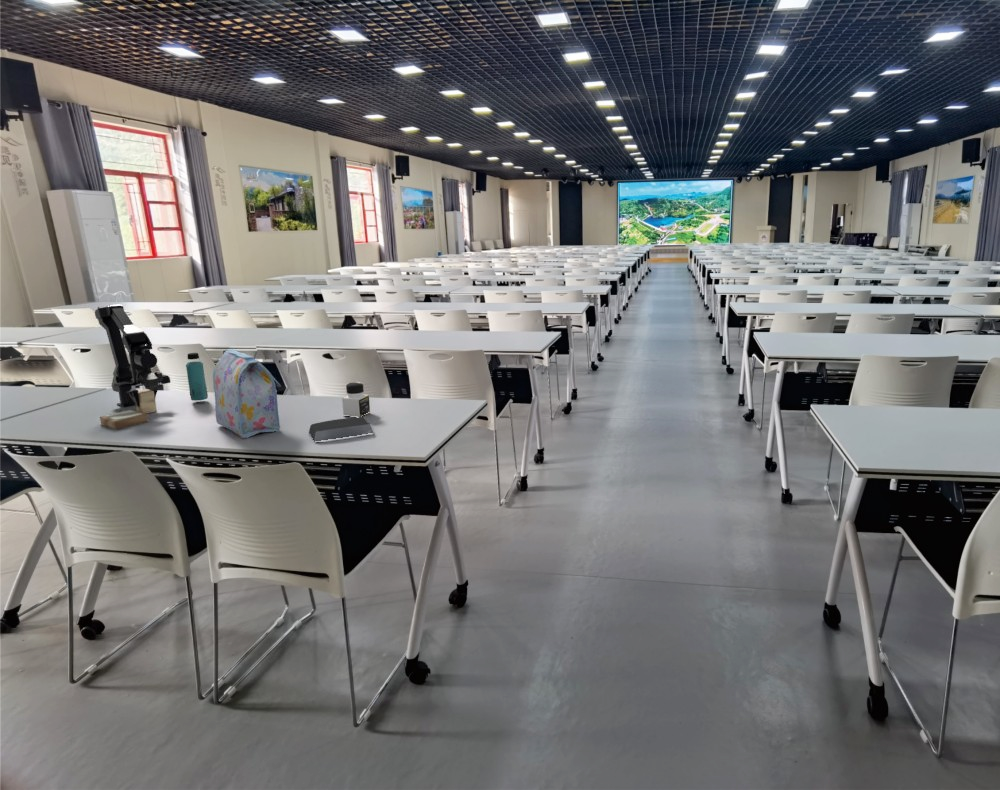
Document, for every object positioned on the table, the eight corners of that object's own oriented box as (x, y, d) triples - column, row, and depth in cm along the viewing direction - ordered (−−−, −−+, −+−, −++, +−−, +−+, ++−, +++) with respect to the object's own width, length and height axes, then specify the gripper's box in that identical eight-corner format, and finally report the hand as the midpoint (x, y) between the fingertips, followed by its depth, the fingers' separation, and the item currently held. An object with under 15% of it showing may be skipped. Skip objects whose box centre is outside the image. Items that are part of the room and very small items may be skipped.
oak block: (136, 412, 247) (133, 391, 245) (150, 409, 251) (146, 389, 249) (143, 414, 244) (140, 393, 242) (156, 411, 248) (153, 390, 246)
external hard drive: (374, 436, 215) (374, 424, 214) (314, 445, 207) (313, 433, 206) (365, 426, 227) (364, 414, 226) (308, 434, 219) (307, 422, 218)
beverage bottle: (211, 400, 263) (205, 351, 258) (203, 404, 257) (196, 354, 252) (196, 400, 264) (189, 351, 259) (187, 404, 257) (180, 354, 252)
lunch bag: (289, 429, 223) (281, 353, 216) (241, 441, 211) (231, 361, 205) (260, 417, 238) (252, 345, 232) (213, 427, 227) (203, 352, 220)
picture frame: (101, 424, 232) (99, 416, 232) (132, 417, 241) (131, 408, 240) (116, 429, 226) (114, 420, 225) (147, 421, 235) (146, 413, 234)
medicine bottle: (360, 418, 234) (358, 386, 231) (343, 416, 236) (340, 384, 233) (370, 413, 241) (368, 381, 238) (353, 411, 243) (351, 380, 240)
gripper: (124, 372, 231) (131, 414, 235) (175, 362, 246) (181, 402, 250) (109, 368, 237) (116, 409, 241) (159, 359, 252) (165, 398, 256)
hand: (145, 405), depth 247 cm, fingers closed on oak block, 5 cm apart
